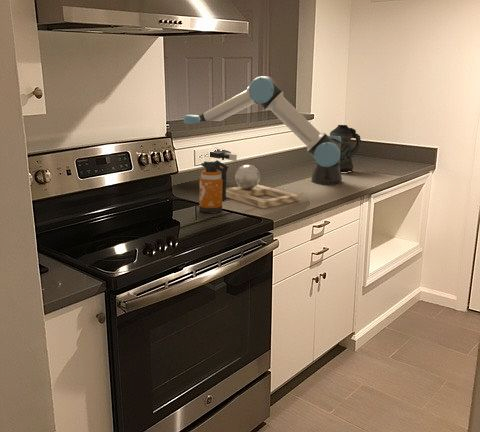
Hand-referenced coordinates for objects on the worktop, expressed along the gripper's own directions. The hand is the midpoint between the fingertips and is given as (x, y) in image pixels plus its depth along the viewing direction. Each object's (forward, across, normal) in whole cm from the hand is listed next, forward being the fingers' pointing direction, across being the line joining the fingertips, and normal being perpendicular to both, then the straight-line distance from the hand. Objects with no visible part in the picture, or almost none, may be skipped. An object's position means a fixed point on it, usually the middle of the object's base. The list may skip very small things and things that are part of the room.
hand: (235, 157), depth 245 cm
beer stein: (-4, -80, -15) cm, 81 cm away
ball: (+8, 0, -7) cm, 11 cm away
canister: (+21, +29, -16) cm, 39 cm away
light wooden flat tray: (+15, 0, -15) cm, 21 cm away
